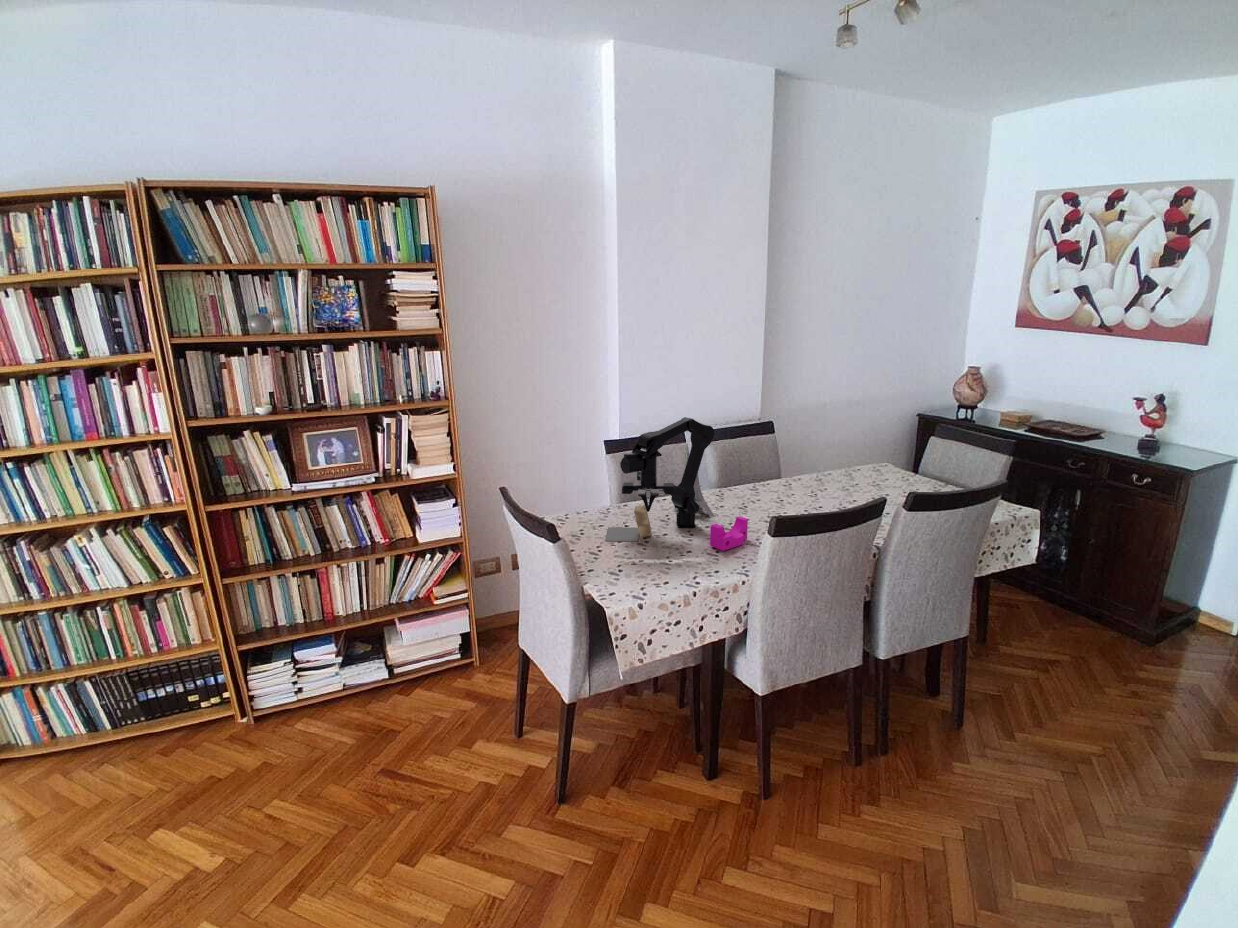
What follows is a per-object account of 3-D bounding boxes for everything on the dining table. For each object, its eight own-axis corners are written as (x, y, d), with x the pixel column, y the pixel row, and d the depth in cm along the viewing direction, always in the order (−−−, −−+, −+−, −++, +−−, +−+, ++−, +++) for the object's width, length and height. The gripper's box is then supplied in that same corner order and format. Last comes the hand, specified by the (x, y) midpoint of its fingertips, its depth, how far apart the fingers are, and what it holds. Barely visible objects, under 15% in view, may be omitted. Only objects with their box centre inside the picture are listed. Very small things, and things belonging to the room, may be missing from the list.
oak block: (651, 529, 235) (645, 504, 233) (651, 535, 229) (645, 509, 227) (640, 531, 236) (634, 506, 233) (640, 537, 230) (634, 512, 228)
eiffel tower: (701, 507, 263) (703, 436, 256) (716, 517, 251) (718, 443, 243) (671, 511, 259) (672, 438, 252) (685, 521, 247) (686, 445, 239)
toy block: (723, 550, 218) (723, 530, 216) (709, 545, 222) (710, 525, 221) (752, 540, 227) (753, 520, 225) (739, 535, 231) (739, 516, 230)
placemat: (639, 528, 240) (639, 527, 240) (638, 541, 226) (638, 541, 226) (608, 527, 240) (608, 527, 240) (604, 541, 227) (604, 540, 227)
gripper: (674, 464, 234) (673, 504, 237) (623, 463, 235) (623, 504, 239) (675, 471, 223) (674, 514, 227) (621, 471, 224) (622, 513, 228)
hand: (648, 511), depth 230 cm, fingers closed
